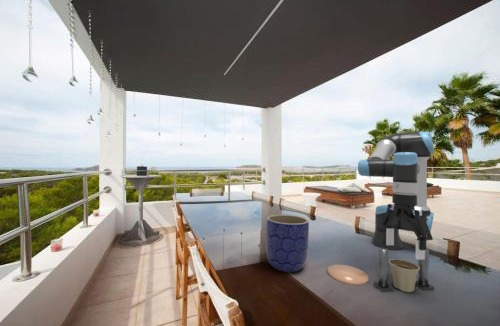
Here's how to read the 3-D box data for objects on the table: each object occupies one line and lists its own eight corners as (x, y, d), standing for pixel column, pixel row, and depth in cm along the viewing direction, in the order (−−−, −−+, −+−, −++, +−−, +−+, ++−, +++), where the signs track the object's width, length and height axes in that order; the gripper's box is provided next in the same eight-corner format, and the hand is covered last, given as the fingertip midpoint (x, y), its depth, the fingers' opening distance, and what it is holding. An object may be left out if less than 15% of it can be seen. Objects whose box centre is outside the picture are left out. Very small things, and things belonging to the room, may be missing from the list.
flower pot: (382, 281, 84) (382, 258, 84) (405, 281, 85) (405, 258, 85) (401, 295, 75) (401, 270, 75) (426, 295, 75) (426, 269, 76)
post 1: (384, 284, 81) (384, 247, 82) (393, 291, 77) (393, 251, 77) (373, 285, 81) (374, 247, 81) (381, 291, 77) (382, 251, 77)
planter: (281, 280, 82) (282, 225, 83) (257, 261, 99) (258, 215, 99) (317, 271, 91) (318, 221, 91) (289, 255, 107) (290, 213, 108)
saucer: (353, 266, 96) (353, 264, 96) (377, 284, 81) (377, 281, 81) (321, 267, 95) (321, 264, 95) (339, 285, 80) (339, 282, 80)
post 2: (423, 284, 83) (423, 246, 83) (434, 290, 79) (434, 251, 79) (412, 284, 83) (413, 246, 83) (423, 290, 78) (423, 251, 79)
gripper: (372, 190, 93) (371, 240, 92) (425, 198, 68) (425, 266, 67) (388, 190, 94) (388, 240, 93) (447, 198, 69) (446, 266, 68)
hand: (403, 251), depth 80 cm, fingers open, 13 cm apart
